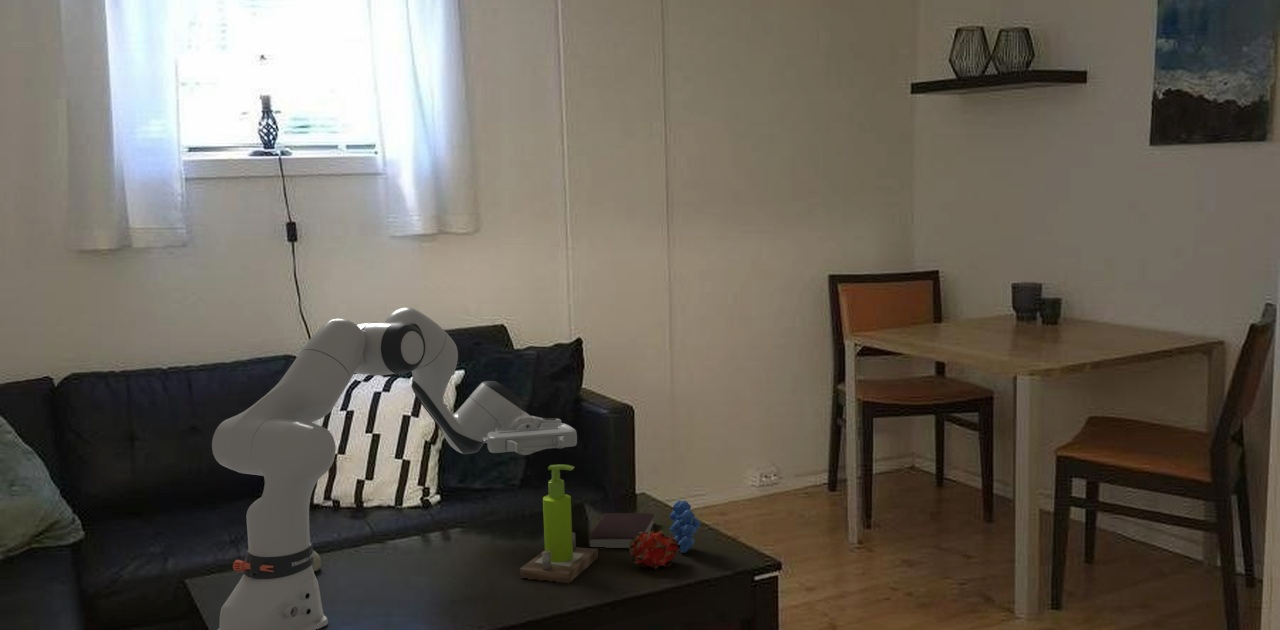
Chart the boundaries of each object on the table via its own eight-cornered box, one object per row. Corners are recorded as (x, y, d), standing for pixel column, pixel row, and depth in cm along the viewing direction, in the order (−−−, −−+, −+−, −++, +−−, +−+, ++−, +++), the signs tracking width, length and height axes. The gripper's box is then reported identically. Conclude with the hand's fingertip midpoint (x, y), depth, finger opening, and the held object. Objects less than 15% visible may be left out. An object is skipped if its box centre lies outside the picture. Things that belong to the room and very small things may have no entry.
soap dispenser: (573, 562, 235) (570, 469, 232) (541, 561, 236) (538, 468, 234) (580, 553, 240) (577, 462, 238) (549, 552, 242) (545, 461, 239)
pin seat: (568, 583, 229) (568, 557, 228) (520, 578, 233) (519, 552, 232) (597, 558, 244) (597, 533, 243) (551, 553, 248) (550, 529, 247)
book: (587, 550, 251) (586, 536, 251) (603, 524, 270) (603, 510, 270) (642, 552, 249) (642, 537, 249) (655, 525, 268) (655, 512, 268)
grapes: (711, 558, 242) (710, 504, 241) (681, 562, 240) (680, 507, 239) (692, 542, 253) (691, 490, 252) (664, 545, 251) (663, 493, 250)
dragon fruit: (624, 576, 237) (676, 576, 241) (638, 563, 230) (691, 563, 235) (619, 537, 241) (670, 538, 246) (633, 523, 234) (686, 524, 239)
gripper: (479, 424, 256) (493, 435, 243) (566, 417, 263) (584, 428, 250) (480, 451, 256) (494, 464, 243) (566, 444, 263) (584, 456, 250)
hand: (540, 446), depth 247 cm, fingers open, 8 cm apart
